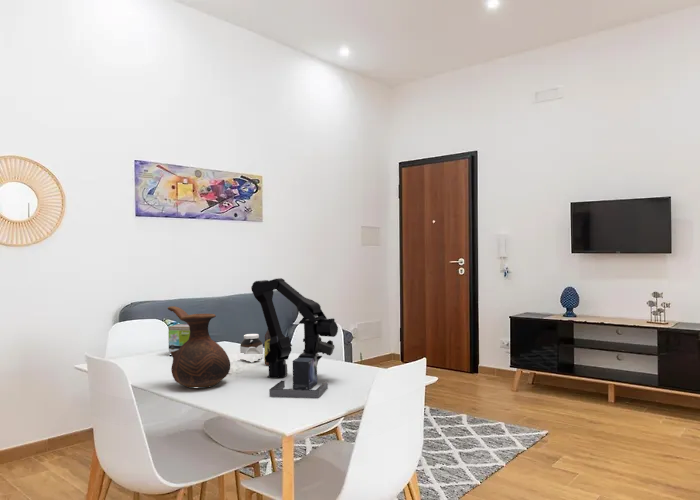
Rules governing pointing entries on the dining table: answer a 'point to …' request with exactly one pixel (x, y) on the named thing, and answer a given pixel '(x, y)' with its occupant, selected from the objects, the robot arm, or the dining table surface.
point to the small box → (304, 373)
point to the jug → (198, 354)
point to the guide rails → (297, 391)
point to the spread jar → (251, 344)
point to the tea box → (178, 336)
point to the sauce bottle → (267, 345)
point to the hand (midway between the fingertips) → (313, 376)
